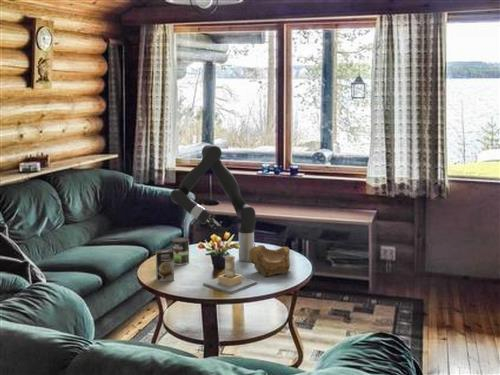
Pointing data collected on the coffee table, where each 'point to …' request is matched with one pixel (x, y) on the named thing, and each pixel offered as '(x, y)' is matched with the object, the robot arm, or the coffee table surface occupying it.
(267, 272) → the rough brown rock
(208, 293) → the coffee table surface
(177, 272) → the coffee table surface
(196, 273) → the coffee table surface
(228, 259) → the wooden peg
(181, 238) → the coffee can
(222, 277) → the collar board
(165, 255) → the coffee box
